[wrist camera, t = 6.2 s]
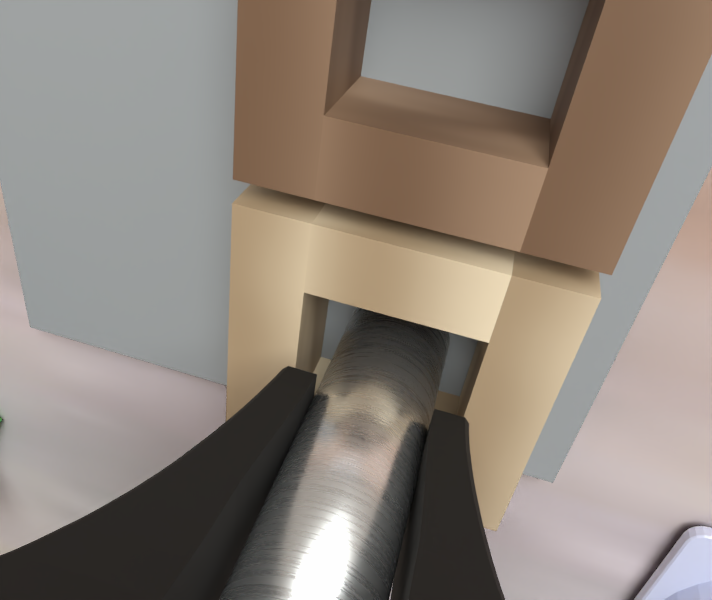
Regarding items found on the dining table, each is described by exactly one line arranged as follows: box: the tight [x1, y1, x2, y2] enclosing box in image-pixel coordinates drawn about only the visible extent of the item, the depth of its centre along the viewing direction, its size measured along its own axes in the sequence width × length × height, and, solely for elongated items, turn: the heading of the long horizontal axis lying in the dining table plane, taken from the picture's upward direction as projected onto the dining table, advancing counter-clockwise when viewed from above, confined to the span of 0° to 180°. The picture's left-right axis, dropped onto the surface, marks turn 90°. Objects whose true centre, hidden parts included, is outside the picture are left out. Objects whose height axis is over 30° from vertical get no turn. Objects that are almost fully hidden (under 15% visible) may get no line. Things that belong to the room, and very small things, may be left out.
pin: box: [219, 307, 450, 600], centre depth 12 cm, size 2×2×8 cm
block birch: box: [226, 184, 601, 531], centre depth 15 cm, size 7×7×2 cm
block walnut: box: [233, 0, 712, 275], centre depth 11 cm, size 7×7×2 cm
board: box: [0, 0, 712, 483], centre depth 15 cm, size 16×15×1 cm
